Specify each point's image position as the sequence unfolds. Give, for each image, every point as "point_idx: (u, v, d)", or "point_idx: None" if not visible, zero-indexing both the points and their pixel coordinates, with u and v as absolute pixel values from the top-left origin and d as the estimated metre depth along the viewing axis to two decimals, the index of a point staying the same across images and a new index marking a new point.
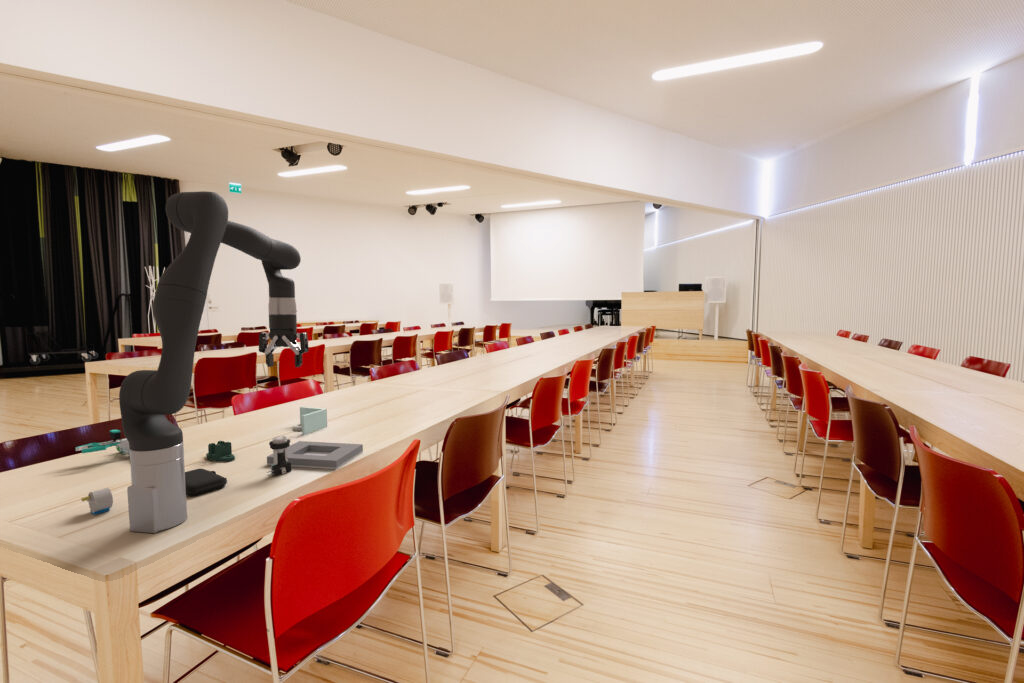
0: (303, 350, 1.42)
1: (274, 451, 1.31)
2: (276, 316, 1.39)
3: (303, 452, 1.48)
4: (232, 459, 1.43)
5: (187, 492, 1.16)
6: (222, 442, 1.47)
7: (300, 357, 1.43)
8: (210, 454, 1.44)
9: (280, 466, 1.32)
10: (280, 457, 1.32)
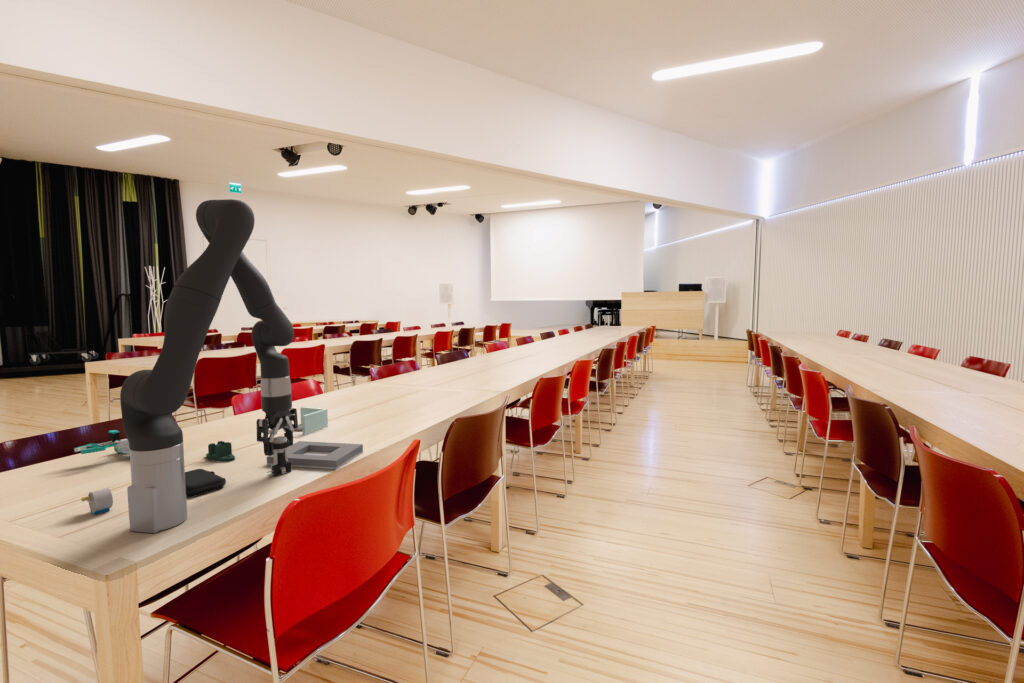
0: (297, 425, 1.38)
1: (274, 451, 1.31)
2: (289, 396, 1.30)
3: (303, 452, 1.48)
4: (232, 459, 1.43)
5: (186, 492, 1.16)
6: (222, 442, 1.47)
7: None
8: (210, 454, 1.44)
9: (280, 466, 1.32)
10: (280, 457, 1.32)
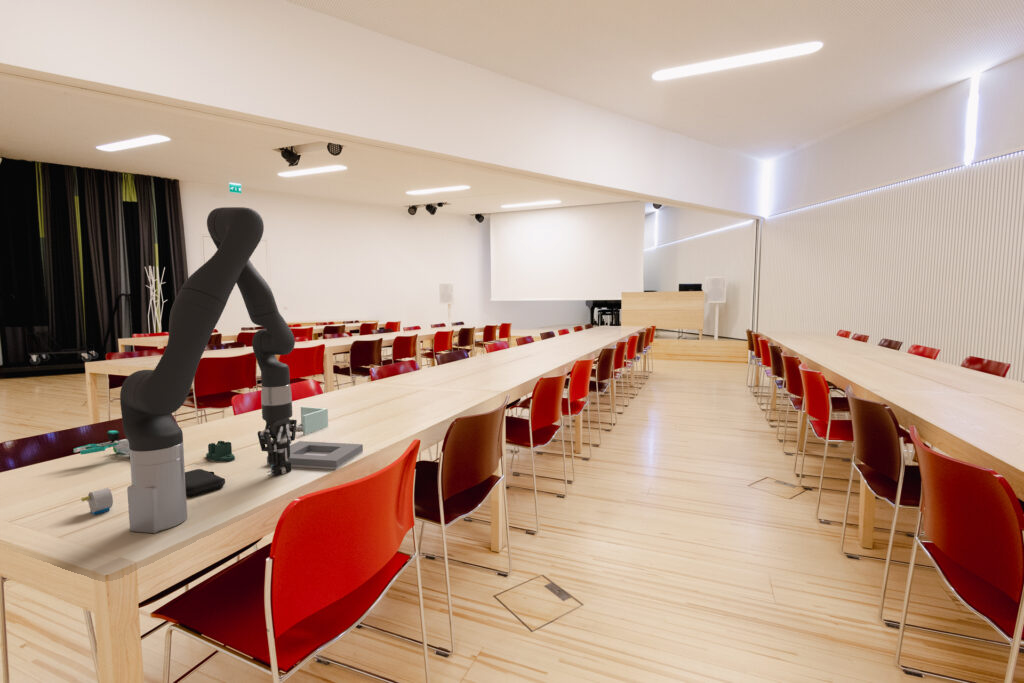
0: (294, 438, 1.37)
1: None
2: (289, 405, 1.31)
3: (303, 452, 1.48)
4: (232, 459, 1.43)
5: None
6: (222, 442, 1.47)
7: None
8: (210, 454, 1.44)
9: (280, 466, 1.32)
10: (280, 457, 1.32)
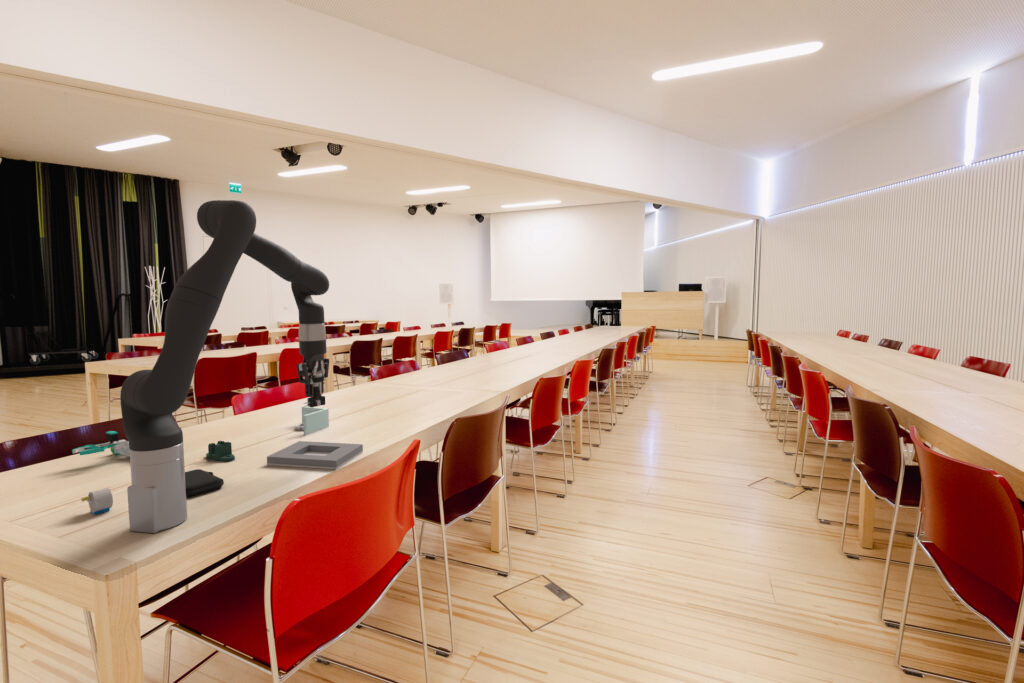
0: (327, 375, 1.49)
1: None
2: (324, 342, 1.42)
3: (303, 452, 1.48)
4: (232, 459, 1.43)
5: None
6: (222, 442, 1.47)
7: None
8: (210, 454, 1.44)
9: (316, 398, 1.43)
10: (315, 390, 1.43)
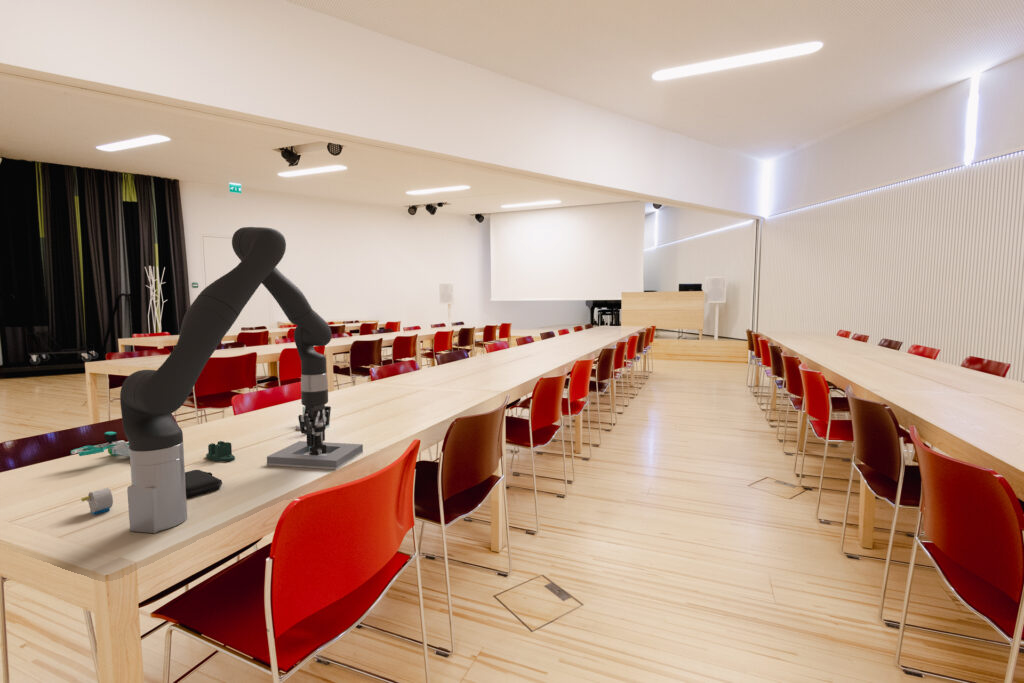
0: (328, 423, 1.50)
1: None
2: (326, 392, 1.44)
3: (303, 452, 1.48)
4: (232, 459, 1.43)
5: None
6: (222, 442, 1.47)
7: None
8: (210, 454, 1.44)
9: (317, 448, 1.44)
10: (317, 440, 1.44)
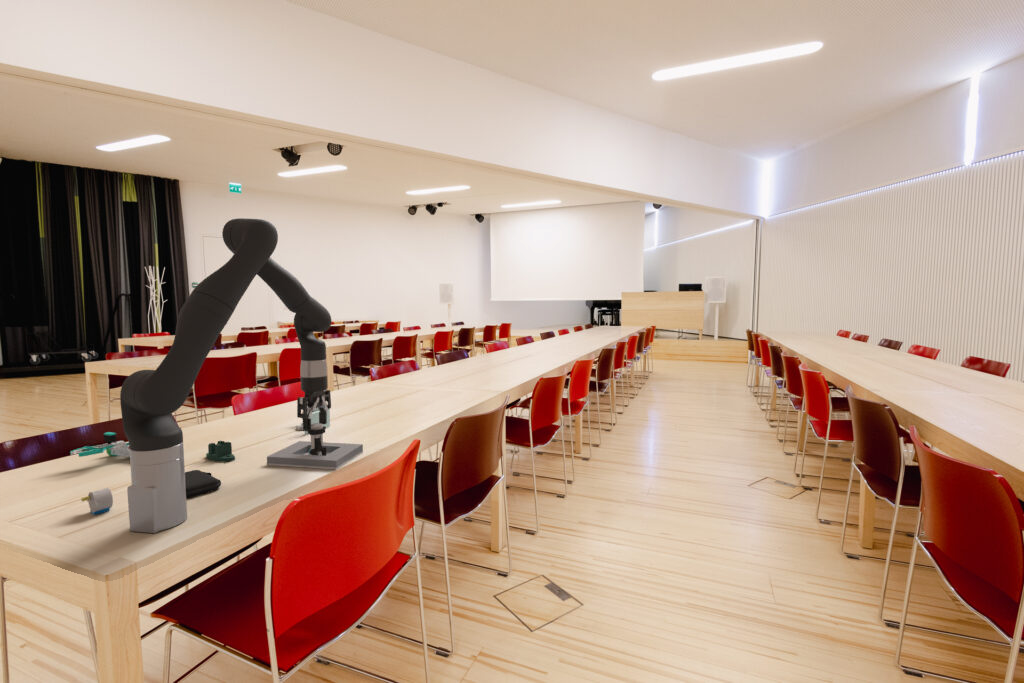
0: (330, 406, 1.51)
1: (311, 436, 1.44)
2: (325, 378, 1.43)
3: (303, 452, 1.48)
4: (232, 459, 1.43)
5: None
6: (222, 442, 1.47)
7: None
8: (210, 454, 1.44)
9: (317, 450, 1.44)
10: (317, 442, 1.44)
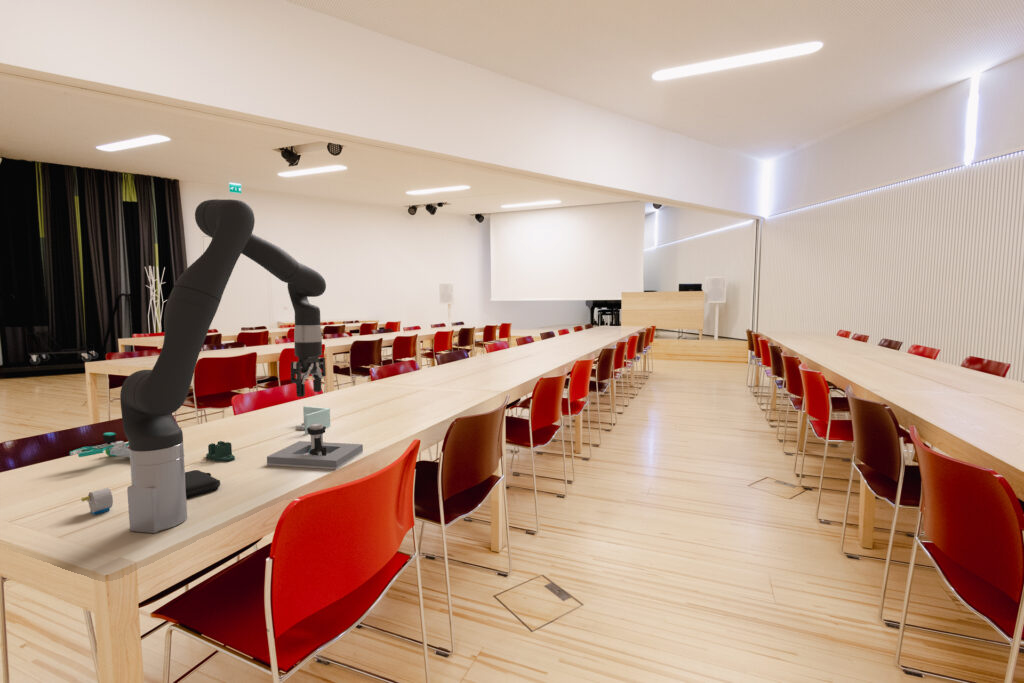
0: (325, 374, 1.49)
1: (311, 436, 1.44)
2: (320, 344, 1.42)
3: (303, 452, 1.48)
4: (232, 459, 1.43)
5: None
6: (222, 442, 1.47)
7: None
8: (210, 454, 1.44)
9: (317, 450, 1.44)
10: (317, 442, 1.44)
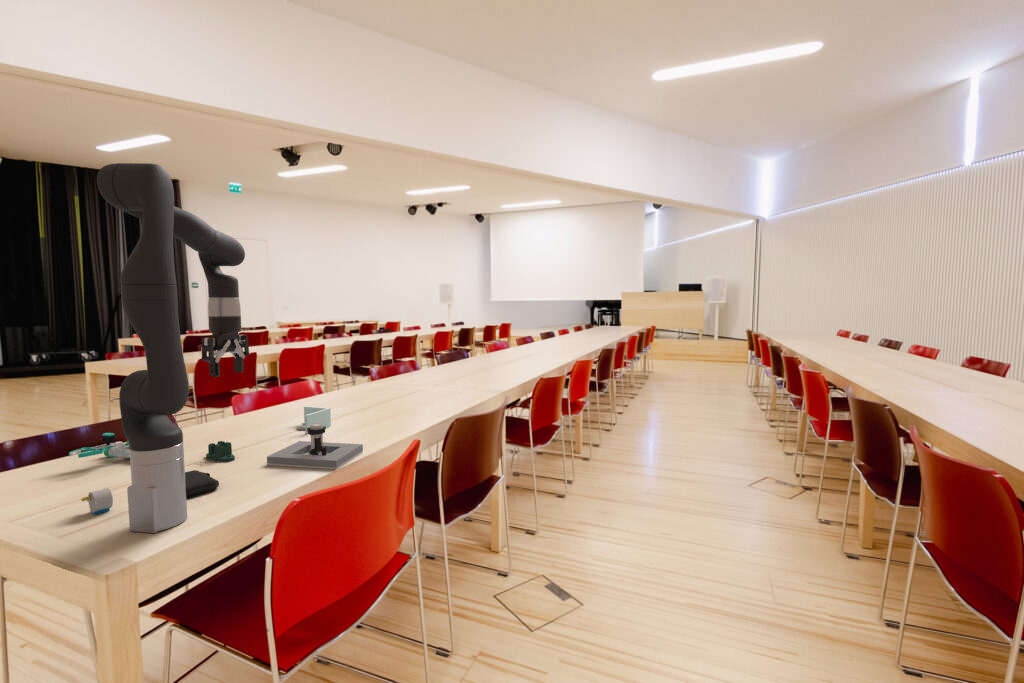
0: (248, 353, 1.35)
1: (311, 436, 1.44)
2: (237, 318, 1.28)
3: (303, 452, 1.48)
4: (232, 459, 1.43)
5: None
6: (222, 442, 1.47)
7: None
8: (210, 454, 1.44)
9: (317, 450, 1.44)
10: (317, 442, 1.44)
